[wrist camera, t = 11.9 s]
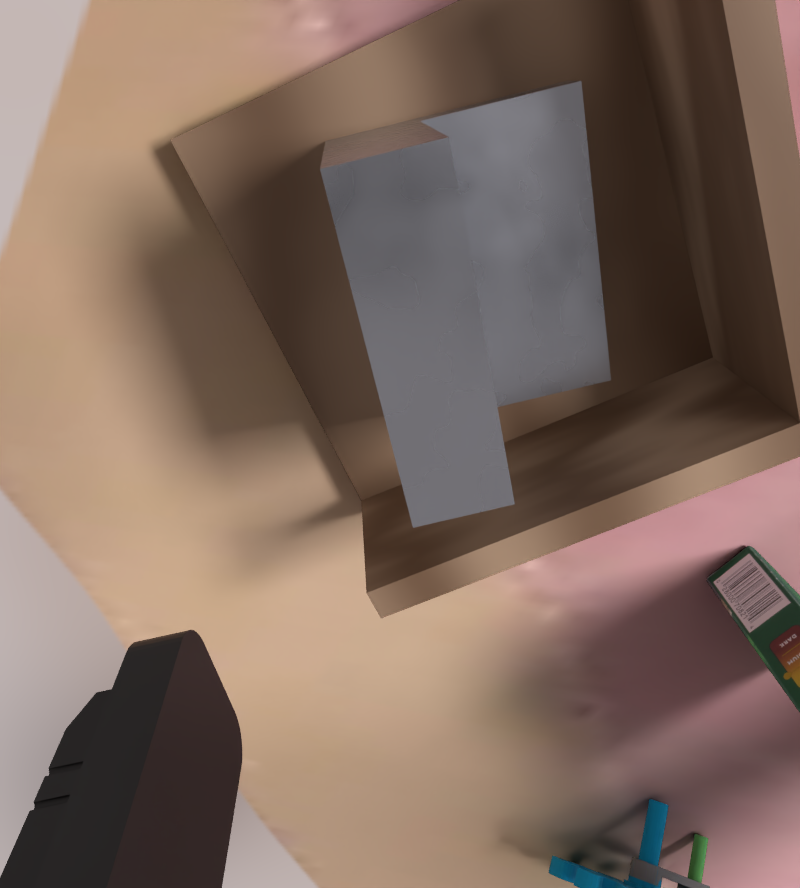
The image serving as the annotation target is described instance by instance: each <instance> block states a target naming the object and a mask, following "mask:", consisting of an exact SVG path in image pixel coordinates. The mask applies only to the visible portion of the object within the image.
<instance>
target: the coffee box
mask: <svg viewBox="0 0 800 888" xmlns="http://www.w3.org/2000/svg"><path fill="white" fill-rule="evenodd" d="M707 582H708V583H709V585H710V586H711V588H712V589H713V591H714V592H715V594H716V595H717V597H718V598H719V599H720V601H721V602H722V603H723V605H724V607H725V608H726V609H727V611H728V612H729V614H730V615H731V617H732V618H733V619H734V621H735V622H736V623H737V625H738V626H739V628H740V629H741V631H742V632H743V633H744V635H745V636H746V638H747V639H748V640H749V642H750V643H751V645H752V646H753V647H754V648H755V650H756V652H757V653H758V654H759V656H760V657H761V659H762V660H763V662H764V663H765V664H766V666H767V667H768V669H769V670H770V672H771V673H772V674H773V676H774V677H775V678H776V680H777V681H778V683H779V684H780V686H781V687H782V688H783V690H784V691H785V693H786V694H787V695H788V697H789V698H790V700H791V701H792V702H793V704H794V705H795V707H796V708H797V709H798V711H799V712H800V595H799V594H798V593H797V592H796V591H795V590H794V589H793V588H792V587H791V586H790V585H789V584H788V583H787V582H786V581H785V580H784V579H783V578H782V577H781V576H780V575H779V574H778V572H777V571H776V570H775V569H774V568H773V567H772V566H771V565H770V564H769V563H768V562H767V561H766V560H765V559H764V558H763V557H762V556H761V555H760V554H759V553H758V552H757V551H756V550H755V549H754V548H753V547H751V546H747V547H746V548H745V549H744V550H742V551H741V552H740V553H739V554H737V555H736V556H735V557H734V558H732V559H731V560H730V561H729V562H727V563H726V564H725V565H723V566H722V567H721V568H720V569H718V570H717V571H715V572H714V573H713V574H711V575H710V576H709V577H708V578H707Z"/></svg>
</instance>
